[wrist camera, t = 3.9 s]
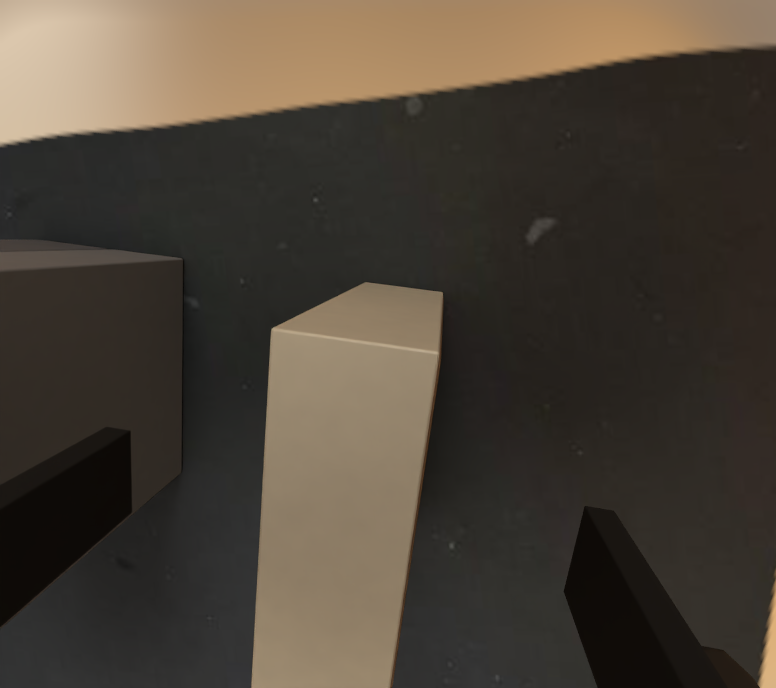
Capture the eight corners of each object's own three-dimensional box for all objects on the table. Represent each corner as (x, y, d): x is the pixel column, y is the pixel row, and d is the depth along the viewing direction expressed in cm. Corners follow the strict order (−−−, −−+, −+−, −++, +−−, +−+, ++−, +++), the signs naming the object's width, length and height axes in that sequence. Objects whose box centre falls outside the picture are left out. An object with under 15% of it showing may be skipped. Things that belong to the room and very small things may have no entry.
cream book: (444, 292, 19) (442, 352, 9) (412, 513, 22) (380, 766, 11) (364, 281, 20) (269, 327, 9) (341, 501, 22) (247, 735, 12)
